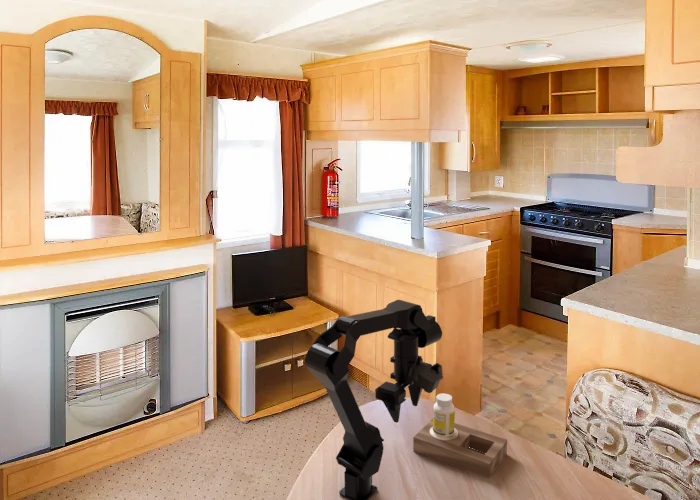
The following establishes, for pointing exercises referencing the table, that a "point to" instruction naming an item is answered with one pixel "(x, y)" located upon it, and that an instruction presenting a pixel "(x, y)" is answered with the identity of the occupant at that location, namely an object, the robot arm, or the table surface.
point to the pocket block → (462, 448)
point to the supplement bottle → (443, 416)
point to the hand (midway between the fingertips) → (405, 413)
